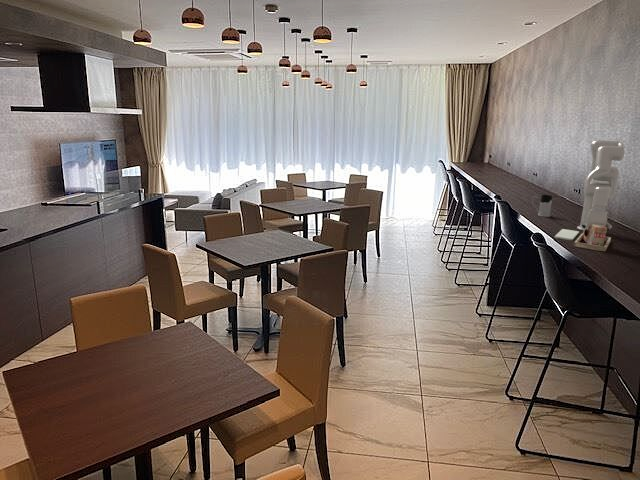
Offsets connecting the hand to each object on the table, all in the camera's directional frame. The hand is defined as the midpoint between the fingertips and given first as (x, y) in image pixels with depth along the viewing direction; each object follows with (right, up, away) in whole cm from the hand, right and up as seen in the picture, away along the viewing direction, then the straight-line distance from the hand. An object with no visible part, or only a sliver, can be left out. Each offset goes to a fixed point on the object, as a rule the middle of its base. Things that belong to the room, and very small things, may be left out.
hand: (593, 237), depth 295 cm
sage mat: (-6, +1, +20) cm, 21 cm away
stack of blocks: (0, -4, +2) cm, 4 cm away
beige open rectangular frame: (0, -4, +1) cm, 4 cm away
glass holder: (+4, +17, +81) cm, 83 cm away
